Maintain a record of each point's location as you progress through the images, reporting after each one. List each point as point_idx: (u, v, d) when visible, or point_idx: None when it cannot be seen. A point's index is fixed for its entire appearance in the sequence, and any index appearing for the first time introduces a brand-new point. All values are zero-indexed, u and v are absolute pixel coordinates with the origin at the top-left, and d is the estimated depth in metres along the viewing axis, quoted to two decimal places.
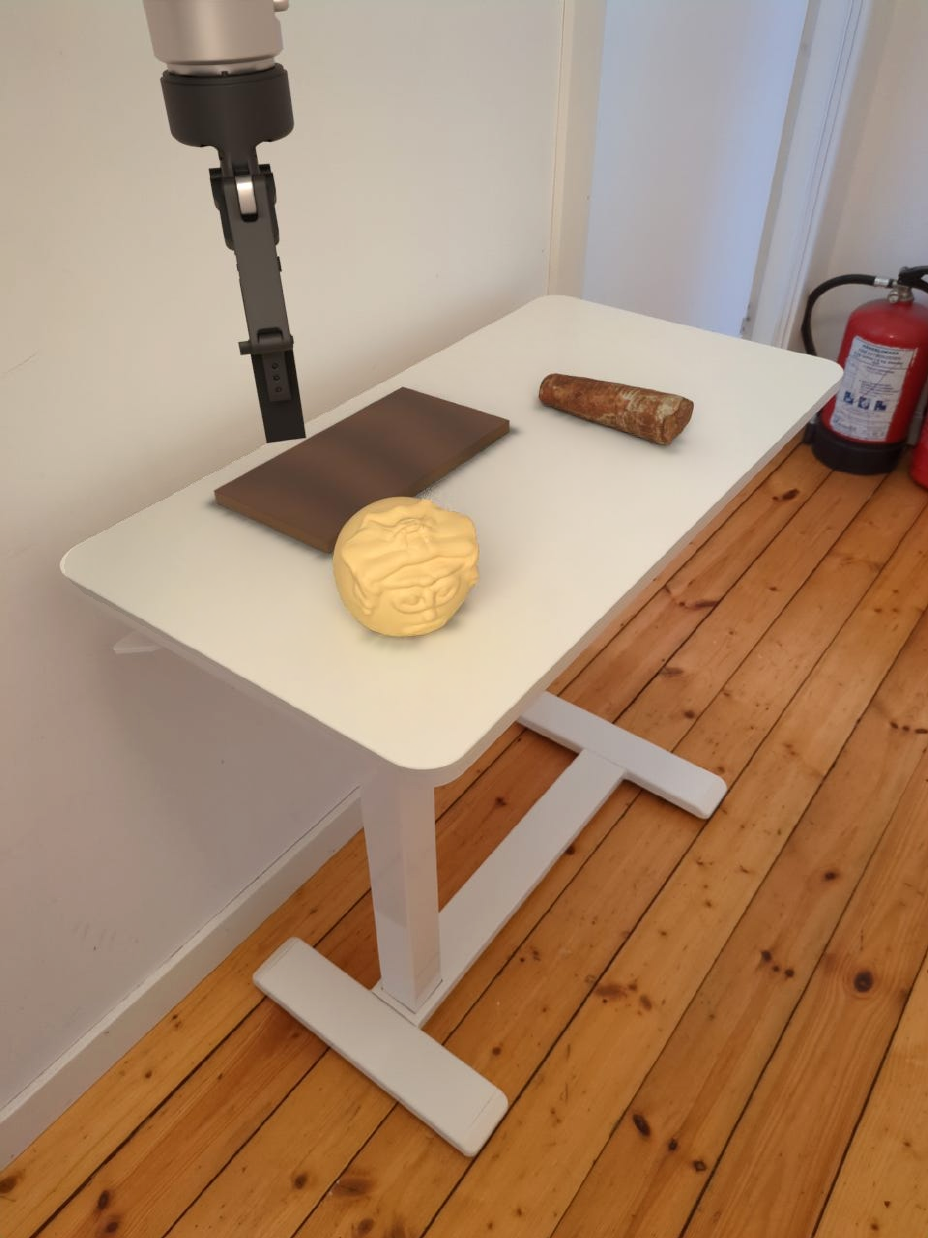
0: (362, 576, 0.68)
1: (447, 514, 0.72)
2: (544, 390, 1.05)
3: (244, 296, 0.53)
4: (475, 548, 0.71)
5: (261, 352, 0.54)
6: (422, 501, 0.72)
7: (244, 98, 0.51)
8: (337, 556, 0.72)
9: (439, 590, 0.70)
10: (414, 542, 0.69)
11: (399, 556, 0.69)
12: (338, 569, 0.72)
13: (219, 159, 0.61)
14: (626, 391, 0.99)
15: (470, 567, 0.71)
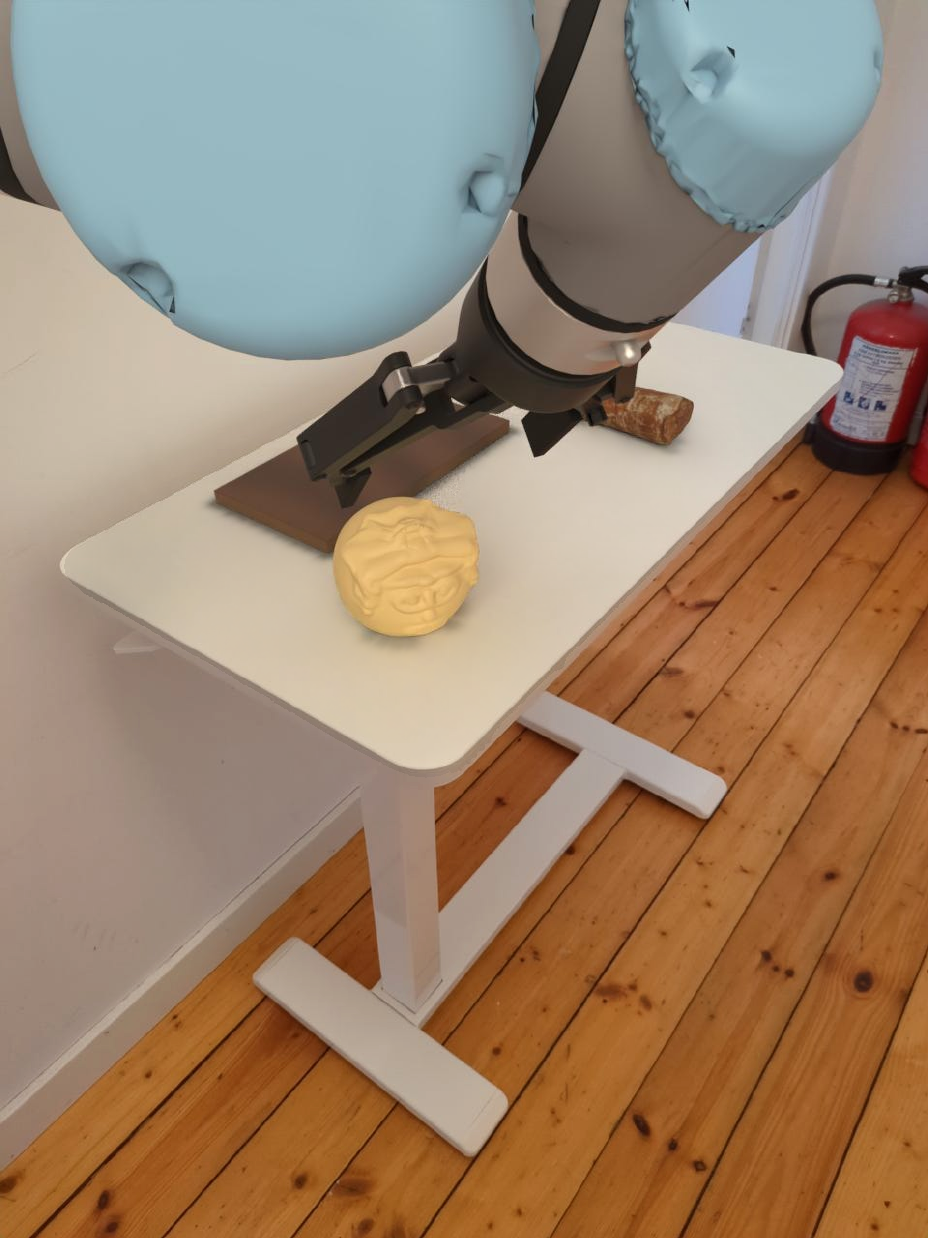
0: (362, 576, 0.68)
1: (447, 514, 0.72)
2: None
3: (325, 415, 0.45)
4: (475, 548, 0.71)
5: None
6: (422, 501, 0.72)
7: (486, 348, 0.38)
8: (337, 556, 0.72)
9: (439, 590, 0.70)
10: (414, 542, 0.69)
11: (399, 556, 0.69)
12: (338, 569, 0.72)
13: None
14: None
15: (470, 567, 0.71)
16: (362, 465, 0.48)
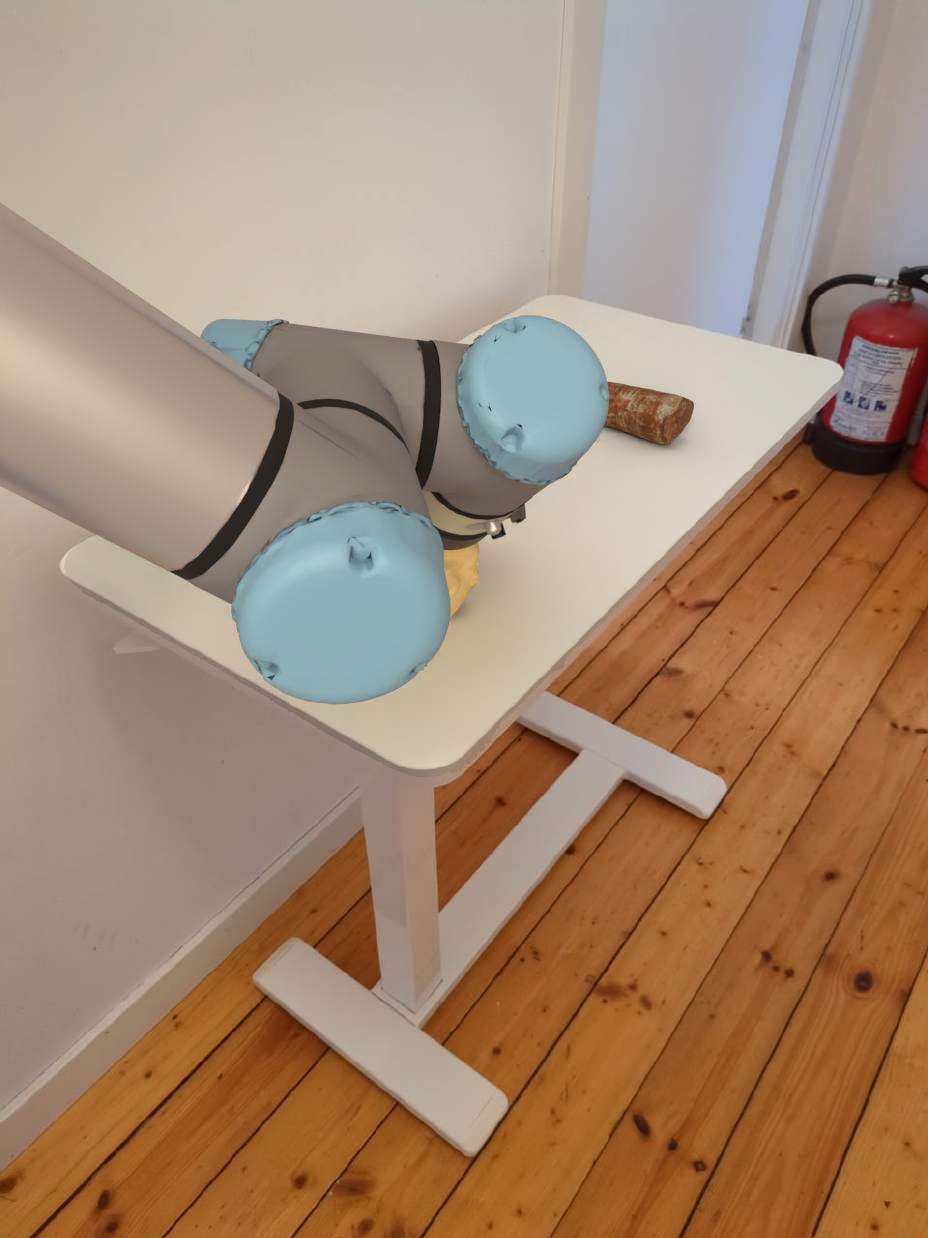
0: None
1: None
2: None
3: None
4: (475, 547, 0.71)
5: None
6: None
7: None
8: None
9: None
10: None
11: None
12: None
13: None
14: (626, 391, 0.99)
15: (470, 567, 0.71)
16: None
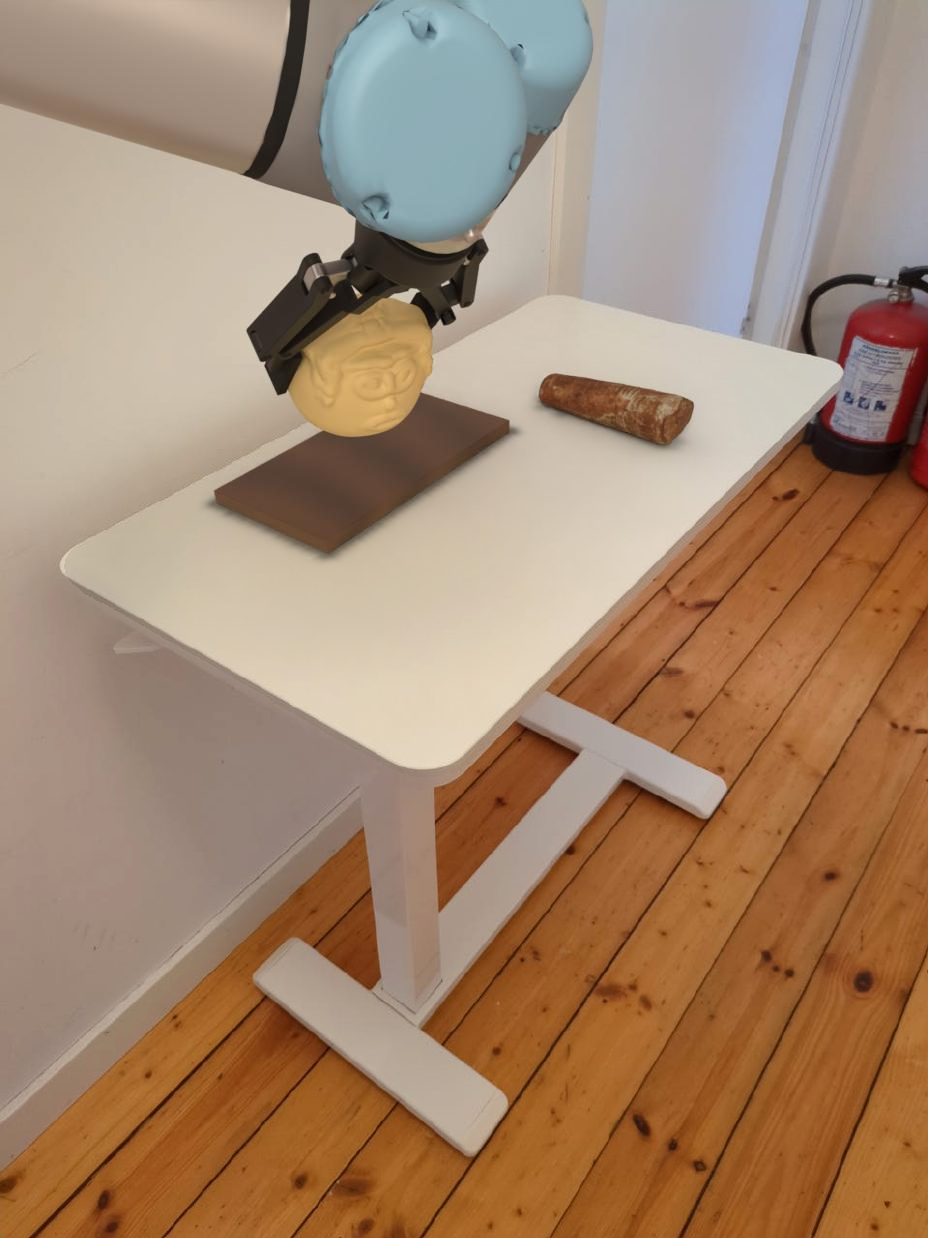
0: (322, 358, 0.67)
1: (396, 301, 0.71)
2: (544, 390, 1.05)
3: (266, 309, 0.63)
4: (428, 330, 0.71)
5: None
6: None
7: (376, 240, 0.56)
8: None
9: (398, 373, 0.70)
10: (370, 323, 0.68)
11: (357, 336, 0.68)
12: None
13: None
14: (626, 391, 0.99)
15: (426, 351, 0.71)
16: (296, 348, 0.66)
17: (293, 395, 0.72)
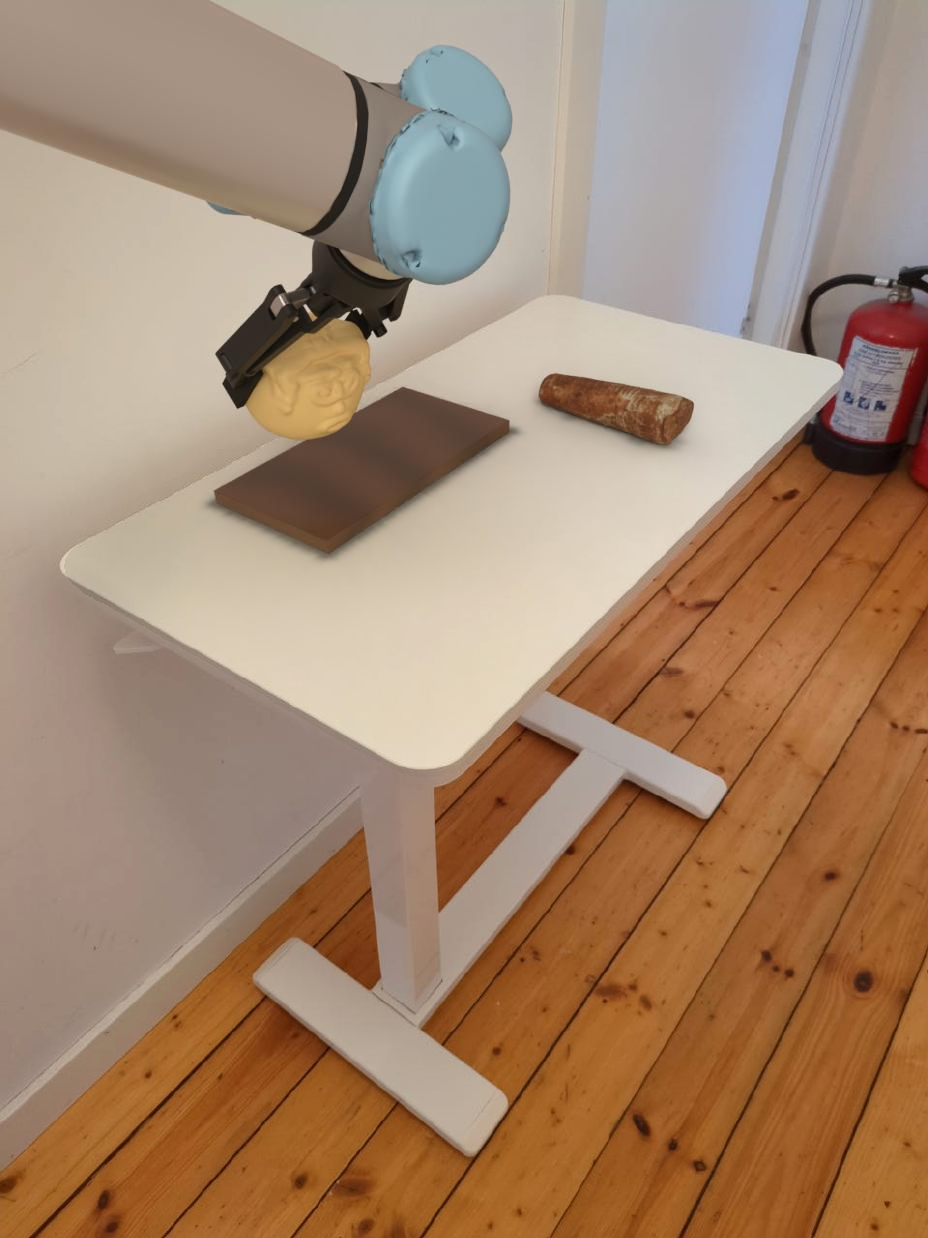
0: (281, 372, 0.78)
1: (335, 320, 0.83)
2: (544, 390, 1.05)
3: (234, 334, 0.73)
4: (366, 343, 0.82)
5: (219, 360, 0.75)
6: (311, 312, 0.82)
7: (335, 271, 0.67)
8: None
9: (345, 381, 0.81)
10: (318, 340, 0.79)
11: (308, 352, 0.79)
12: None
13: None
14: (626, 391, 0.99)
15: (366, 361, 0.83)
16: (259, 366, 0.76)
17: (252, 407, 0.82)
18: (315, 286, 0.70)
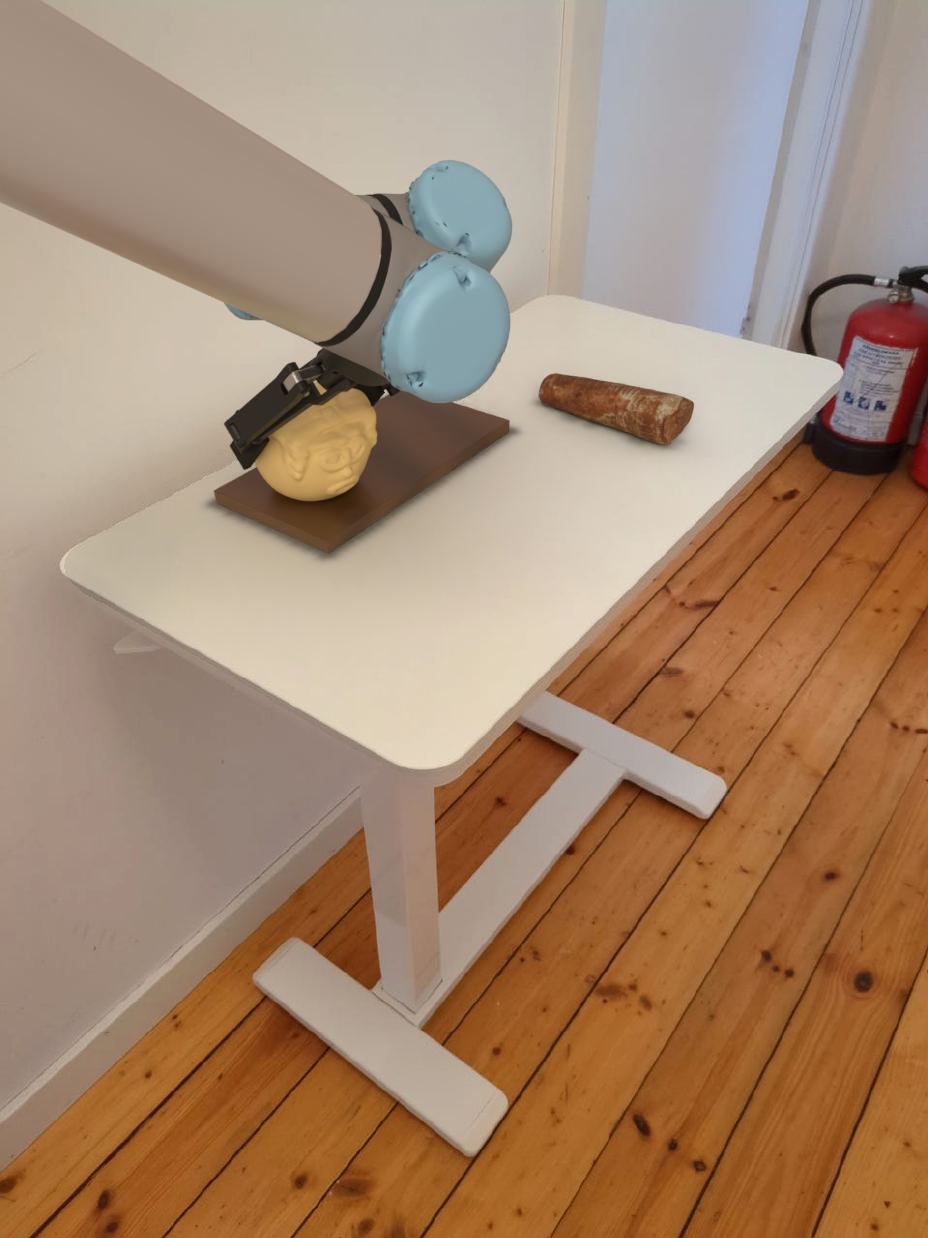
0: (293, 442, 0.82)
1: None
2: (544, 390, 1.05)
3: (245, 406, 0.76)
4: (373, 410, 0.87)
5: (227, 429, 0.78)
6: None
7: None
8: None
9: (353, 448, 0.85)
10: (327, 410, 0.84)
11: (318, 422, 0.83)
12: None
13: None
14: (626, 391, 0.99)
15: (372, 427, 0.87)
16: (266, 434, 0.79)
17: (264, 471, 0.87)
18: (327, 364, 0.74)
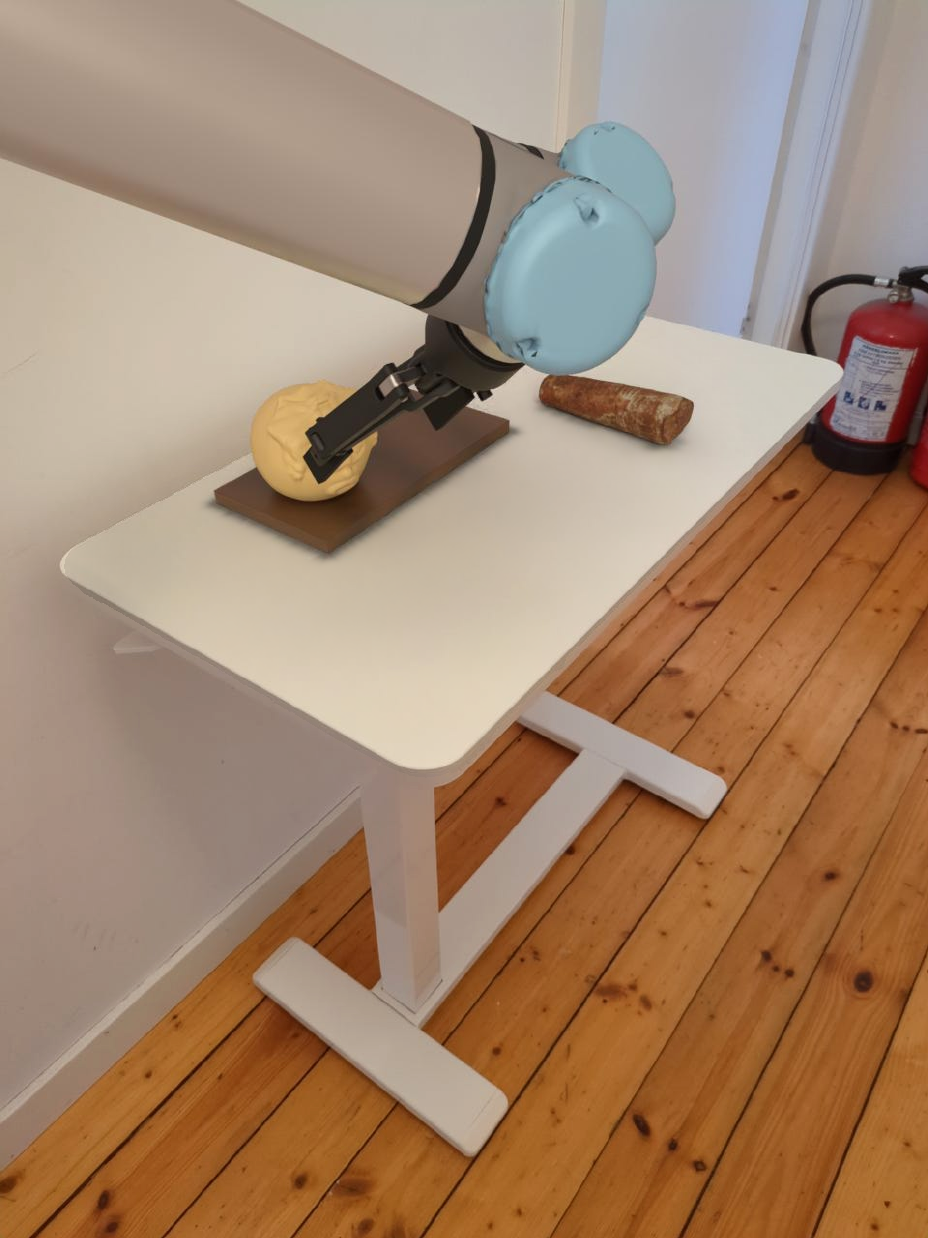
0: (293, 442, 0.82)
1: (343, 388, 0.87)
2: (544, 390, 1.05)
3: (331, 413, 0.67)
4: None
5: (308, 439, 0.69)
6: (320, 381, 0.86)
7: (454, 353, 0.61)
8: (259, 438, 0.85)
9: (353, 448, 0.85)
10: (327, 410, 0.84)
11: None
12: (263, 448, 0.85)
13: None
14: (626, 391, 0.99)
15: None
16: (352, 445, 0.70)
17: (264, 471, 0.87)
18: (429, 365, 0.64)
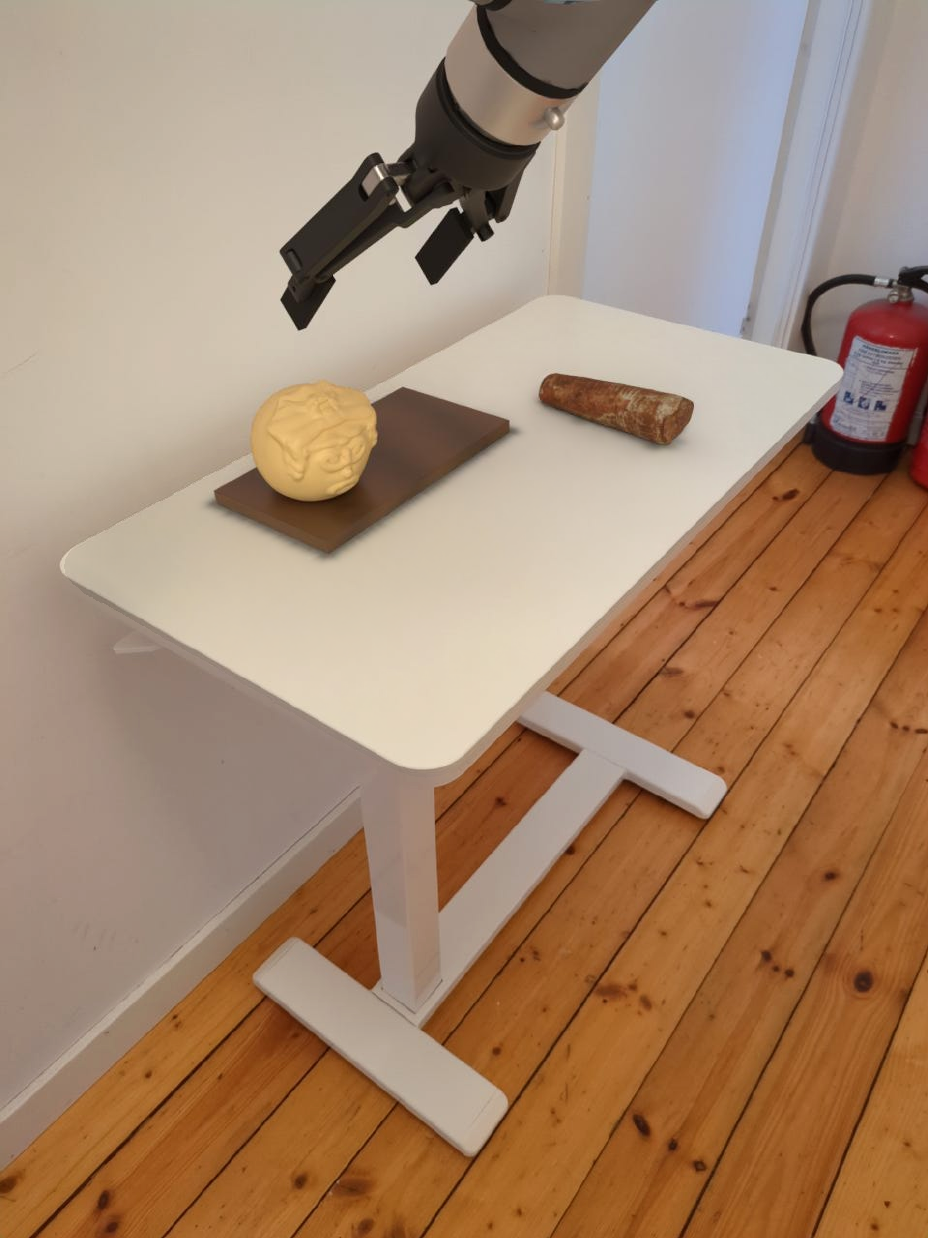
0: (293, 442, 0.82)
1: (343, 388, 0.87)
2: (544, 390, 1.05)
3: (308, 222, 0.58)
4: (373, 410, 0.87)
5: (284, 259, 0.60)
6: (320, 381, 0.86)
7: (448, 135, 0.53)
8: (259, 438, 0.85)
9: (353, 448, 0.85)
10: (327, 410, 0.84)
11: (318, 422, 0.83)
12: (263, 448, 0.85)
13: None
14: (626, 391, 0.99)
15: (372, 427, 0.87)
16: (333, 269, 0.61)
17: (264, 471, 0.87)
18: (420, 159, 0.56)
